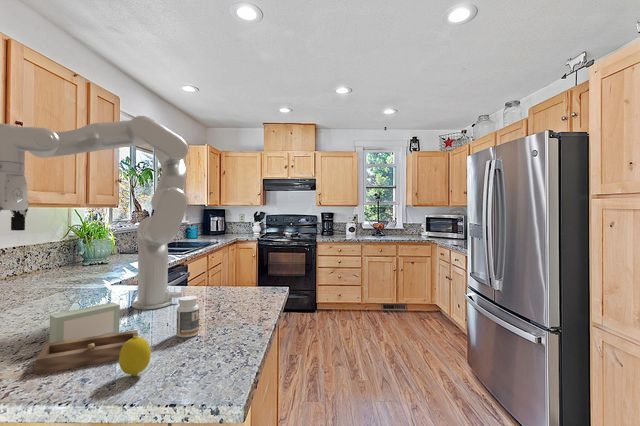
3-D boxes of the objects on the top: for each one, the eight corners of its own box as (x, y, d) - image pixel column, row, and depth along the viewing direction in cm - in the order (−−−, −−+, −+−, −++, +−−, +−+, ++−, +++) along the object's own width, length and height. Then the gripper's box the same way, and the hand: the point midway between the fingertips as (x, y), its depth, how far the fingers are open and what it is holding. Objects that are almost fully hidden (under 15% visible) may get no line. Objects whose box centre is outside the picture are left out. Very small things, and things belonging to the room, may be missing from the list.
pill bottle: (203, 332, 90) (203, 296, 90) (188, 339, 84) (189, 301, 85) (186, 329, 92) (187, 294, 92) (171, 336, 86) (171, 299, 86)
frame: (112, 331, 90) (112, 302, 90) (119, 334, 88) (119, 304, 88) (49, 347, 78) (49, 314, 78) (55, 352, 76) (56, 317, 76)
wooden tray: (136, 341, 82) (137, 325, 83) (138, 355, 74) (138, 338, 74) (45, 356, 73) (45, 339, 73) (35, 374, 65) (36, 354, 65)
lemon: (127, 369, 68) (128, 331, 68) (154, 369, 68) (155, 331, 68) (112, 383, 62) (113, 341, 62) (142, 382, 63) (143, 341, 63)
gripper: (-2, 165, 82) (-4, 233, 82) (41, 173, 99) (41, 229, 99) (-38, 164, 81) (-39, 233, 81) (13, 173, 98) (12, 229, 98)
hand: (5, 231), depth 90 cm, fingers open, 9 cm apart
